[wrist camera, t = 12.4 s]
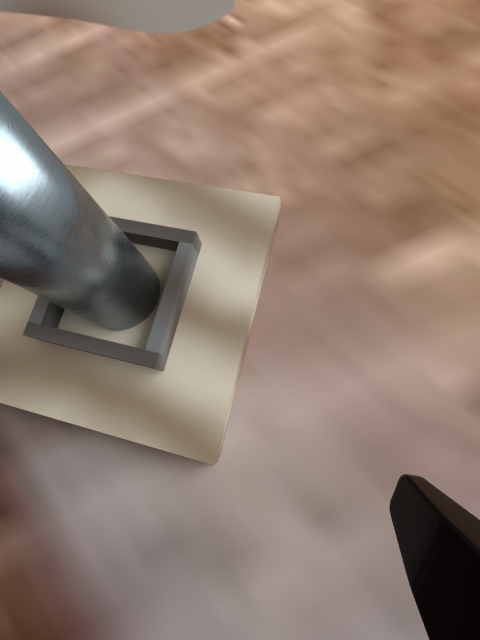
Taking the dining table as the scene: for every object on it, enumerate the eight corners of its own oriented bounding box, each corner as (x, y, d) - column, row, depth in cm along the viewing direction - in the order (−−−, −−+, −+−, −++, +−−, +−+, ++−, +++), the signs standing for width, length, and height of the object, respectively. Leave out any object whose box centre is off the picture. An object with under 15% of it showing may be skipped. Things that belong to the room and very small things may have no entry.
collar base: (217, 461, 20) (206, 469, 17) (-23, 391, 22) (-68, 388, 20) (280, 210, 23) (280, 181, 20) (66, 176, 26) (40, 147, 23)
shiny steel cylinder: (168, 315, 21) (-3, 165, 8) (91, 341, 21) (-193, 230, 8) (150, 245, 22) (-20, 24, 10) (78, 269, 22) (-183, 82, 10)
